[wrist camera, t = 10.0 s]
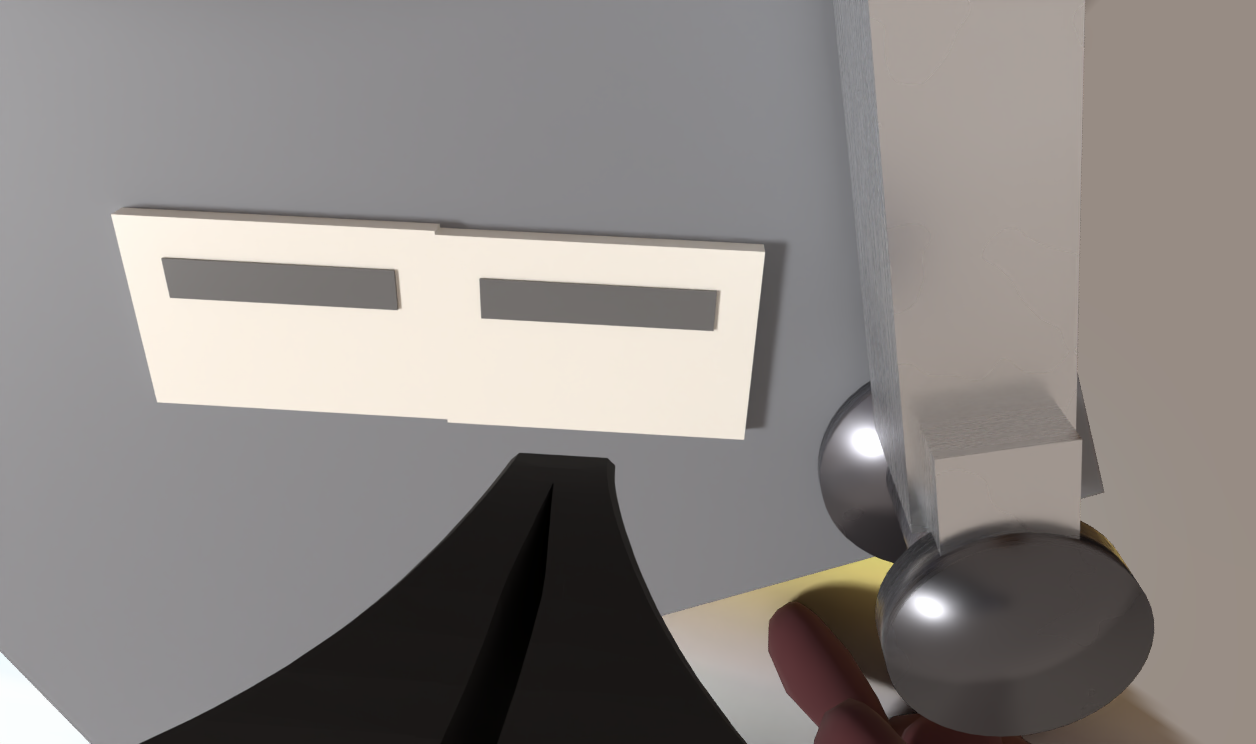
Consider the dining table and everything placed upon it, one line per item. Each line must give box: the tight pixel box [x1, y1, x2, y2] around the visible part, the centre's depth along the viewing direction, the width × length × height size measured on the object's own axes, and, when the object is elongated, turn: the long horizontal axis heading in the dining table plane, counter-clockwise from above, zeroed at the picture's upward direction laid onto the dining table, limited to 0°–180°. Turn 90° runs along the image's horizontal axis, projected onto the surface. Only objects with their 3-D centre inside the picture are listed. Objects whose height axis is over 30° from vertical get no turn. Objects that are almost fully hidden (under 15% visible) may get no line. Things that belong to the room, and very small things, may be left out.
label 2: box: [435, 228, 765, 440], centre depth 17 cm, size 6×4×1 cm, turn 88°
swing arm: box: [833, 0, 1154, 737], centre depth 12 cm, size 20×4×4 cm, turn 12°
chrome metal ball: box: [818, 381, 928, 563], centre depth 17 cm, size 5×5×4 cm
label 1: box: [111, 207, 448, 419], centre depth 18 cm, size 6×4×1 cm, turn 88°
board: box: [0, 0, 1104, 744], centre depth 18 cm, size 18×26×1 cm
